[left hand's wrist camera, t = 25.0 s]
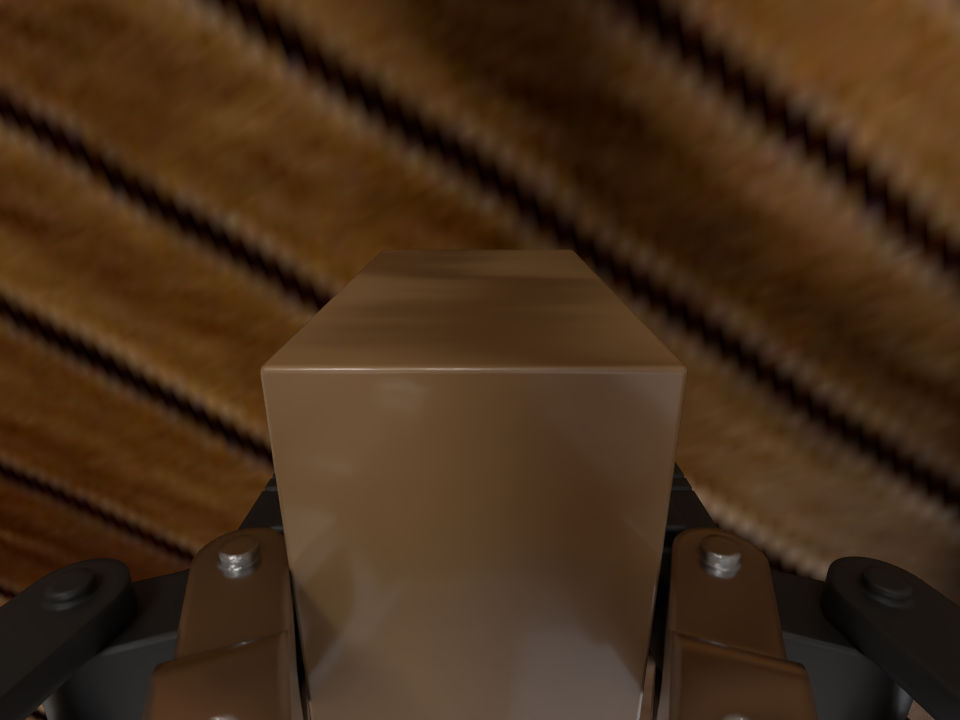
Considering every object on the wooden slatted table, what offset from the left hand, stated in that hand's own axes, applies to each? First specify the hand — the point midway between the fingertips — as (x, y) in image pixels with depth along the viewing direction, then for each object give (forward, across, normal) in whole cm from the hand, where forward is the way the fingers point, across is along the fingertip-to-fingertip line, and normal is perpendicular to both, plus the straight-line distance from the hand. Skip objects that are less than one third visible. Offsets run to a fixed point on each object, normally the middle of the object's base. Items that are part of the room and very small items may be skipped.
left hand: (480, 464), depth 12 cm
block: (+4, 0, 0) cm, 4 cm away
